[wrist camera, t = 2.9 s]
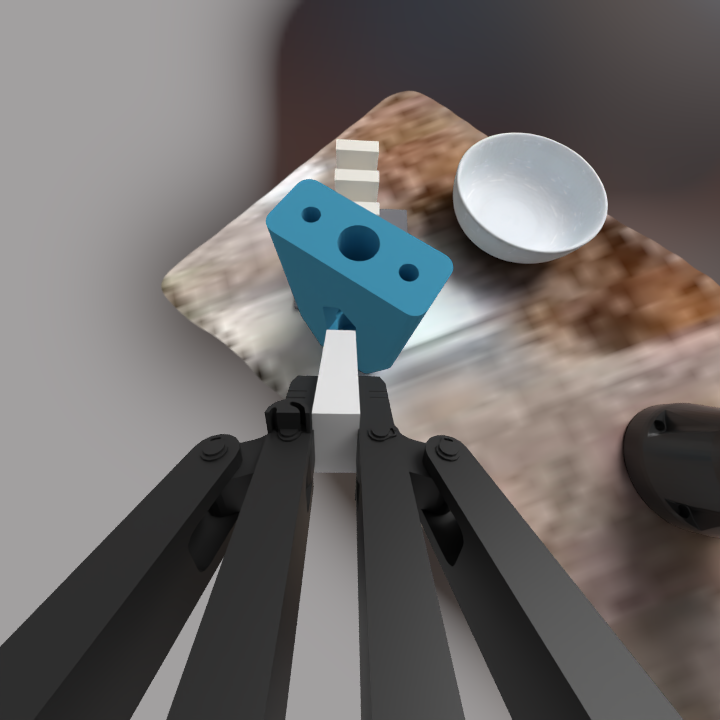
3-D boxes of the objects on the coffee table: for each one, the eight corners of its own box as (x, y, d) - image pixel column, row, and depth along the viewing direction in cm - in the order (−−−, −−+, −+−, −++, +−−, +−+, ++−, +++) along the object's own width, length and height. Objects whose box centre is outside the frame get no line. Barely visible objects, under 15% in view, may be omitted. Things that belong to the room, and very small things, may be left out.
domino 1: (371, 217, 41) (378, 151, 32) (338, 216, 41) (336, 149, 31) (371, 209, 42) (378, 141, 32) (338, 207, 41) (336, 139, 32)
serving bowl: (572, 192, 46) (611, 151, 39) (562, 298, 40) (605, 271, 33) (453, 160, 46) (471, 114, 40) (427, 260, 41) (443, 226, 34)
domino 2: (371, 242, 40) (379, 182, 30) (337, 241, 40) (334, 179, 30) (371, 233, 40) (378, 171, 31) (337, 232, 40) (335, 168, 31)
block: (399, 353, 36) (458, 262, 17) (379, 383, 35) (419, 321, 16) (326, 307, 38) (306, 174, 18) (305, 334, 36) (259, 223, 17)
